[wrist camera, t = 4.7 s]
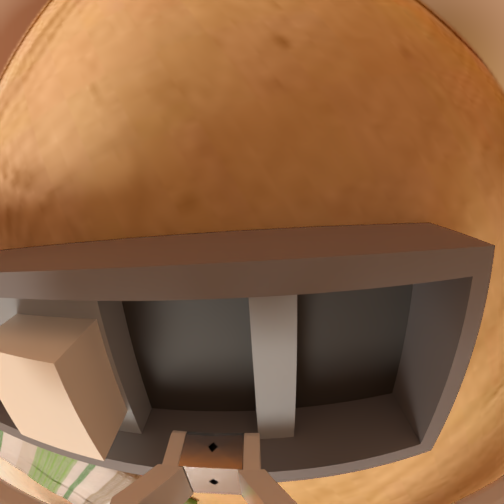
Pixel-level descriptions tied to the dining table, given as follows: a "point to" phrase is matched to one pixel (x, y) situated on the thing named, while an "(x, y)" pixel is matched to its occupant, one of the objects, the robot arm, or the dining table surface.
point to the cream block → (60, 383)
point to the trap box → (270, 336)
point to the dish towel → (66, 473)
